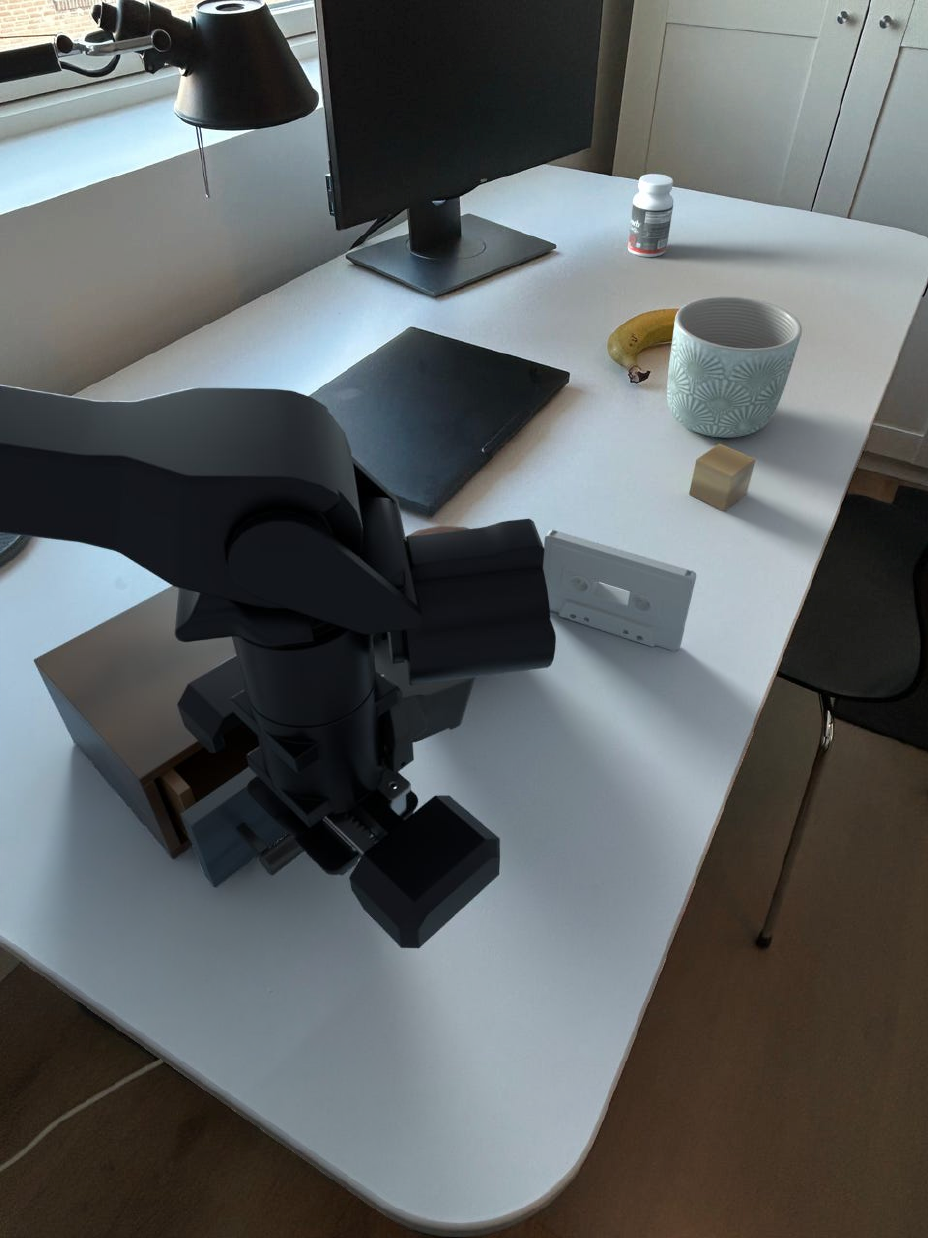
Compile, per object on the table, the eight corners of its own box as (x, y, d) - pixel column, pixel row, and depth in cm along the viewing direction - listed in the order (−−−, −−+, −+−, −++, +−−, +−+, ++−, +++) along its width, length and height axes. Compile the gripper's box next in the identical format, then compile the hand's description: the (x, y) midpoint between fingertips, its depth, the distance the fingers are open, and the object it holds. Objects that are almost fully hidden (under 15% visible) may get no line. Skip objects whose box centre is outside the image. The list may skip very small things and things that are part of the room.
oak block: (723, 511, 83) (732, 476, 80) (688, 494, 85) (695, 459, 82) (746, 494, 85) (756, 459, 82) (711, 477, 87) (719, 442, 84)
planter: (635, 413, 96) (649, 317, 89) (709, 378, 102) (728, 285, 94) (725, 462, 89) (749, 363, 82) (799, 422, 95) (828, 325, 87)
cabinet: (317, 757, 62) (300, 675, 56) (173, 860, 56) (138, 779, 50) (210, 660, 69) (186, 577, 63) (73, 742, 63) (32, 659, 58)
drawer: (384, 824, 57) (377, 760, 53) (251, 931, 52) (230, 870, 47) (240, 691, 66) (223, 626, 61) (113, 771, 60) (83, 707, 56)
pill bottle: (623, 243, 132) (632, 172, 125) (661, 242, 132) (671, 171, 125) (631, 258, 128) (640, 186, 121) (670, 257, 128) (681, 184, 121)
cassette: (536, 610, 73) (541, 537, 68) (545, 597, 74) (550, 524, 69) (676, 656, 69) (693, 583, 64) (683, 641, 71) (700, 568, 65)
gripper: (592, 693, 38) (564, 881, 49) (324, 511, 48) (350, 701, 58) (399, 853, 32) (416, 1026, 43) (140, 609, 42) (206, 800, 53)
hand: (345, 866), depth 49 cm, fingers closed
